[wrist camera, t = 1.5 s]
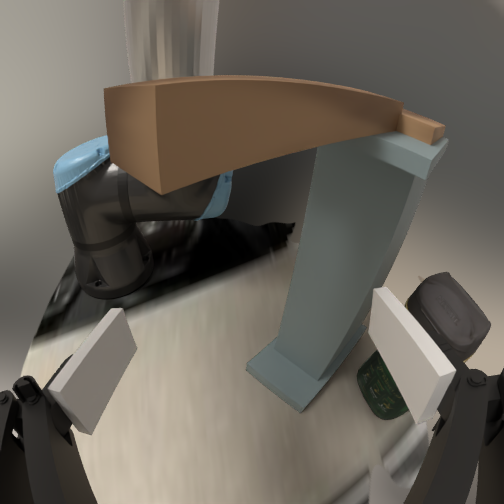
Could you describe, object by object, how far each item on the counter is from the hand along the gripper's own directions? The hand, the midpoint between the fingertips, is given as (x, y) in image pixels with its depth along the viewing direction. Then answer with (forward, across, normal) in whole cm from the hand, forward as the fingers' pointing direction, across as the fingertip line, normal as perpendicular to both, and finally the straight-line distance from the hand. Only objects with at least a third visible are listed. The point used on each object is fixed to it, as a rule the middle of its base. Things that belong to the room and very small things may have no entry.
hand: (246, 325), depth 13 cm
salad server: (+4, +8, +9) cm, 13 cm away
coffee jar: (+12, +16, -22) cm, 29 cm away
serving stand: (+18, +6, -18) cm, 26 cm away
